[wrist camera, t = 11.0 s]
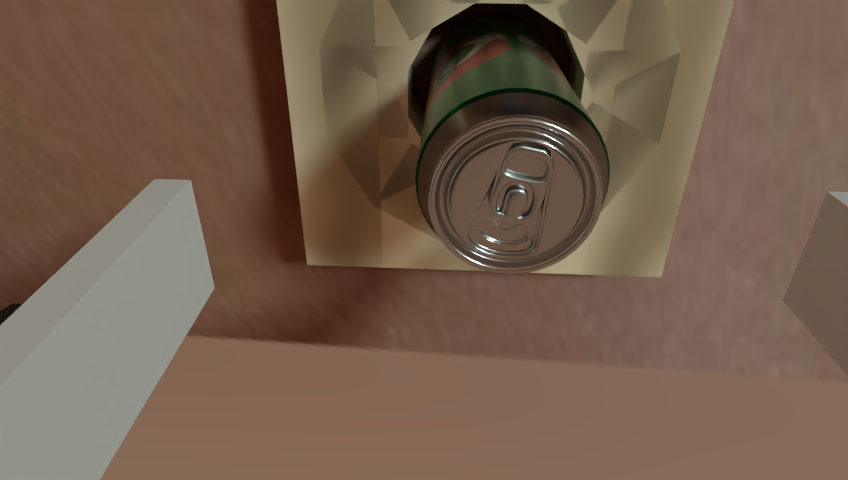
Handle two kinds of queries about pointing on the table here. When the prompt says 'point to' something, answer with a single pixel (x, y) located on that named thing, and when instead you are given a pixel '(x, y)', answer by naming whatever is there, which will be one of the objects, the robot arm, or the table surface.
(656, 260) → the hub block
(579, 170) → the soda can
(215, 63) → the table surface
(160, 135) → the table surface
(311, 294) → the table surface
